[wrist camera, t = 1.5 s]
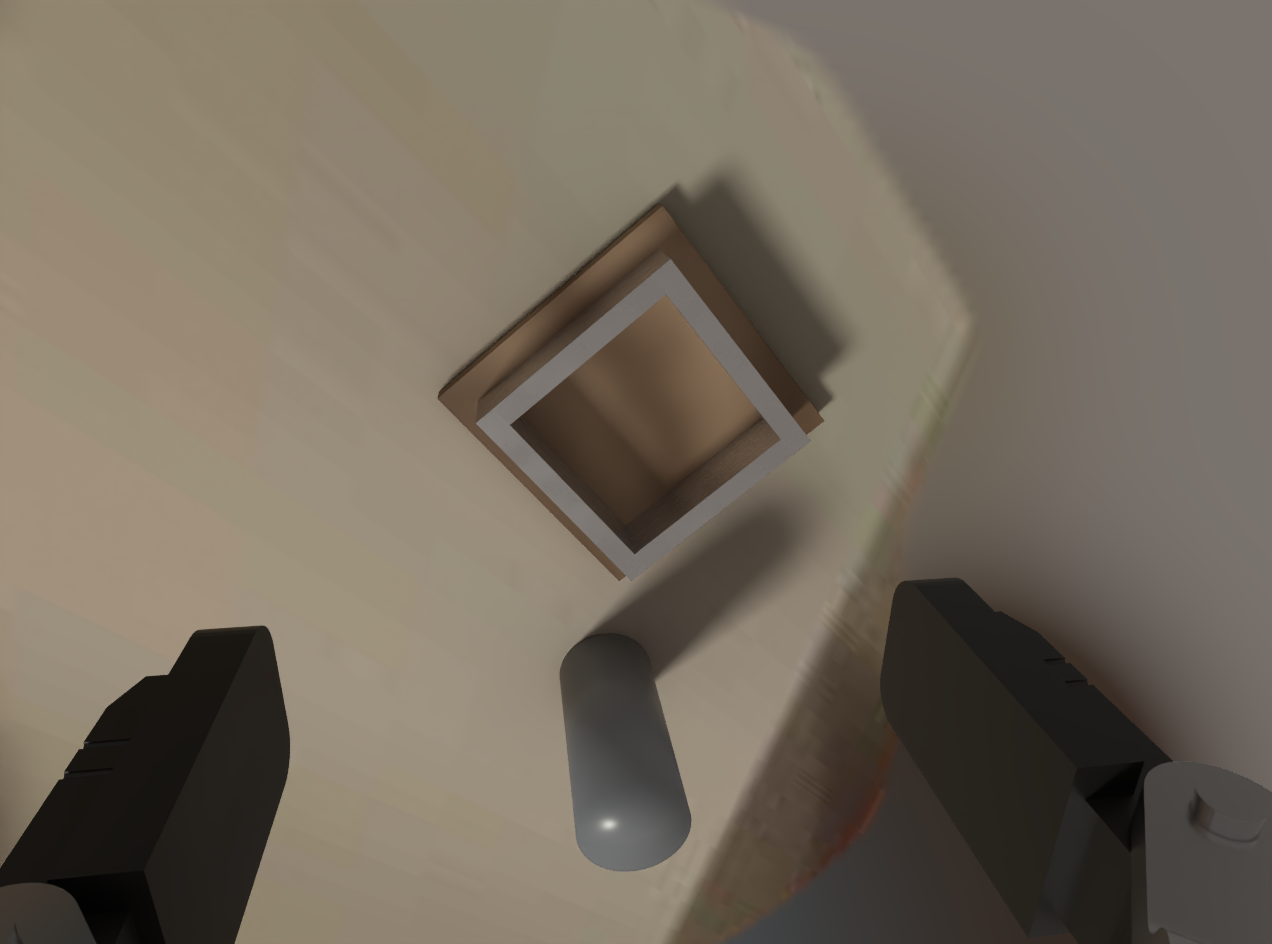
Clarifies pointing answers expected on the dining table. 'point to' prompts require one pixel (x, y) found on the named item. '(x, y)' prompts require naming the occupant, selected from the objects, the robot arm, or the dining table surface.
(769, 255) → the dining table surface
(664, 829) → the grey capsule cylinder
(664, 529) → the collar
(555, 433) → the socket board
